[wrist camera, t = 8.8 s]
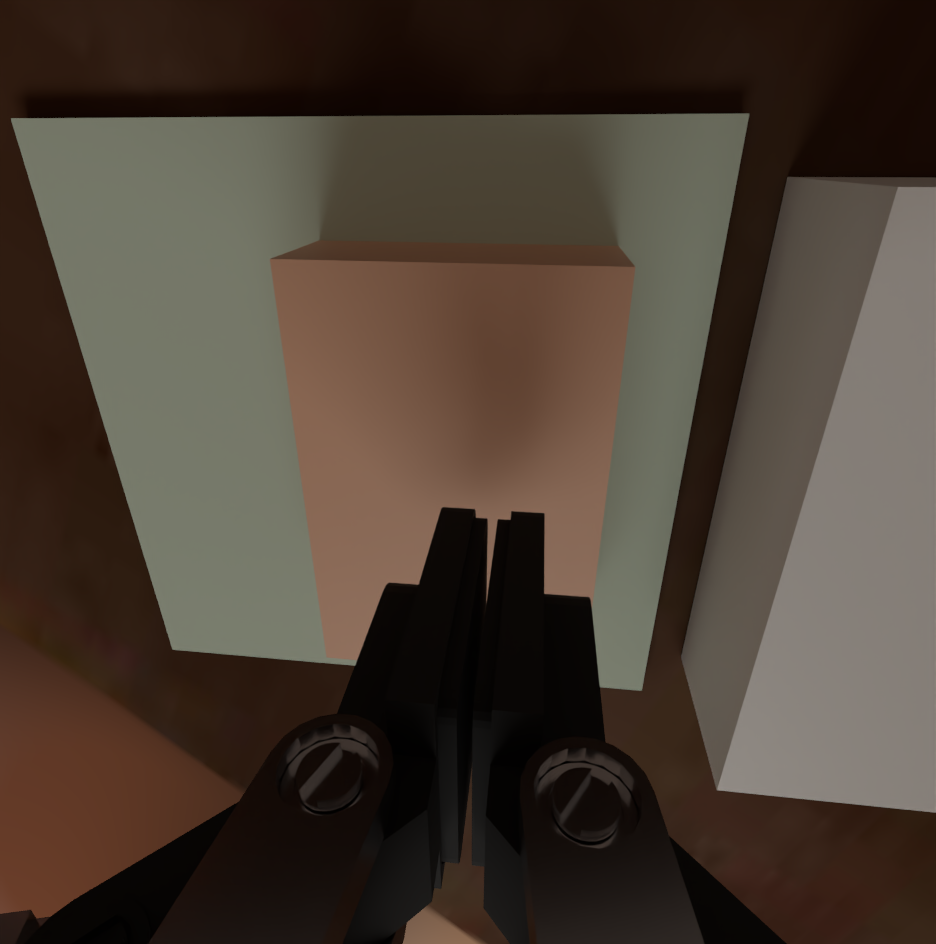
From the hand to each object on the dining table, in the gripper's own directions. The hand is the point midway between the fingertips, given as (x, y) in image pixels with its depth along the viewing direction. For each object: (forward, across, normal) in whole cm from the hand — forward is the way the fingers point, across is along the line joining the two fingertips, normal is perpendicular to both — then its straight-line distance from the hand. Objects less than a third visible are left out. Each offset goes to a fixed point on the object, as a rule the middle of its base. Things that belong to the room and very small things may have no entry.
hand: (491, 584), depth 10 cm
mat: (+5, +3, 0) cm, 6 cm away
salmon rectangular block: (+2, +1, 0) cm, 2 cm away
